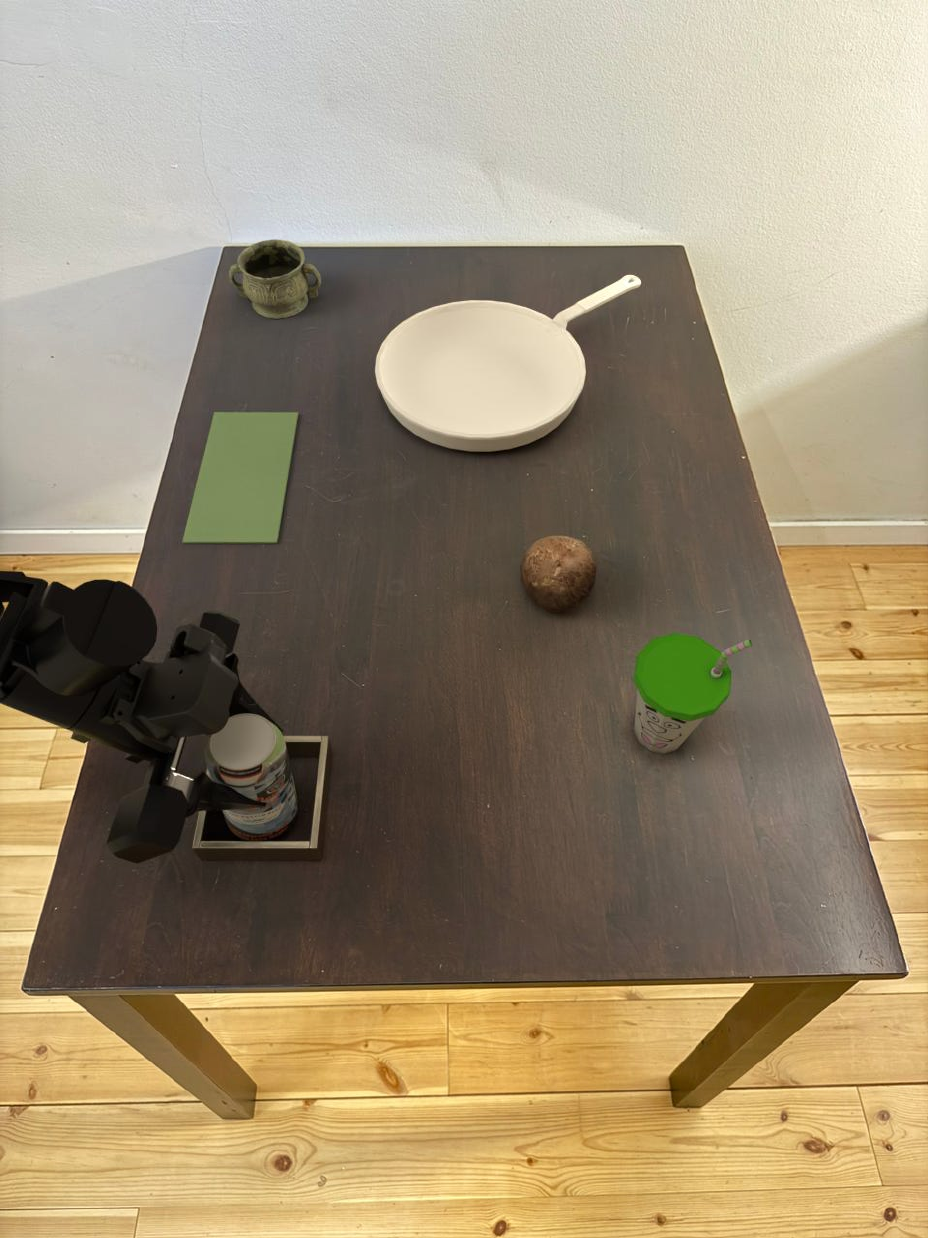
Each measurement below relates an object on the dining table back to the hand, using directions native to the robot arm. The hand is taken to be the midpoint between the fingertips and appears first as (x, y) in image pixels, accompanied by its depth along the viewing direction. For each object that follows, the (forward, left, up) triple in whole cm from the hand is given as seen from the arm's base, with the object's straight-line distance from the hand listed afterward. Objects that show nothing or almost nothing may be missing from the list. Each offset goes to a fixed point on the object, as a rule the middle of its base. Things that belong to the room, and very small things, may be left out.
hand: (272, 769), depth 67 cm
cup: (+33, +7, -7) cm, 35 cm away
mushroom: (+25, +23, -7) cm, 34 cm away
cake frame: (-1, 0, -7) cm, 7 cm away
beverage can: (-2, 0, -7) cm, 7 cm away
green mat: (-9, +39, -7) cm, 41 cm away
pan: (+22, +58, -7) cm, 63 cm away
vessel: (-9, +71, -7) cm, 72 cm away
